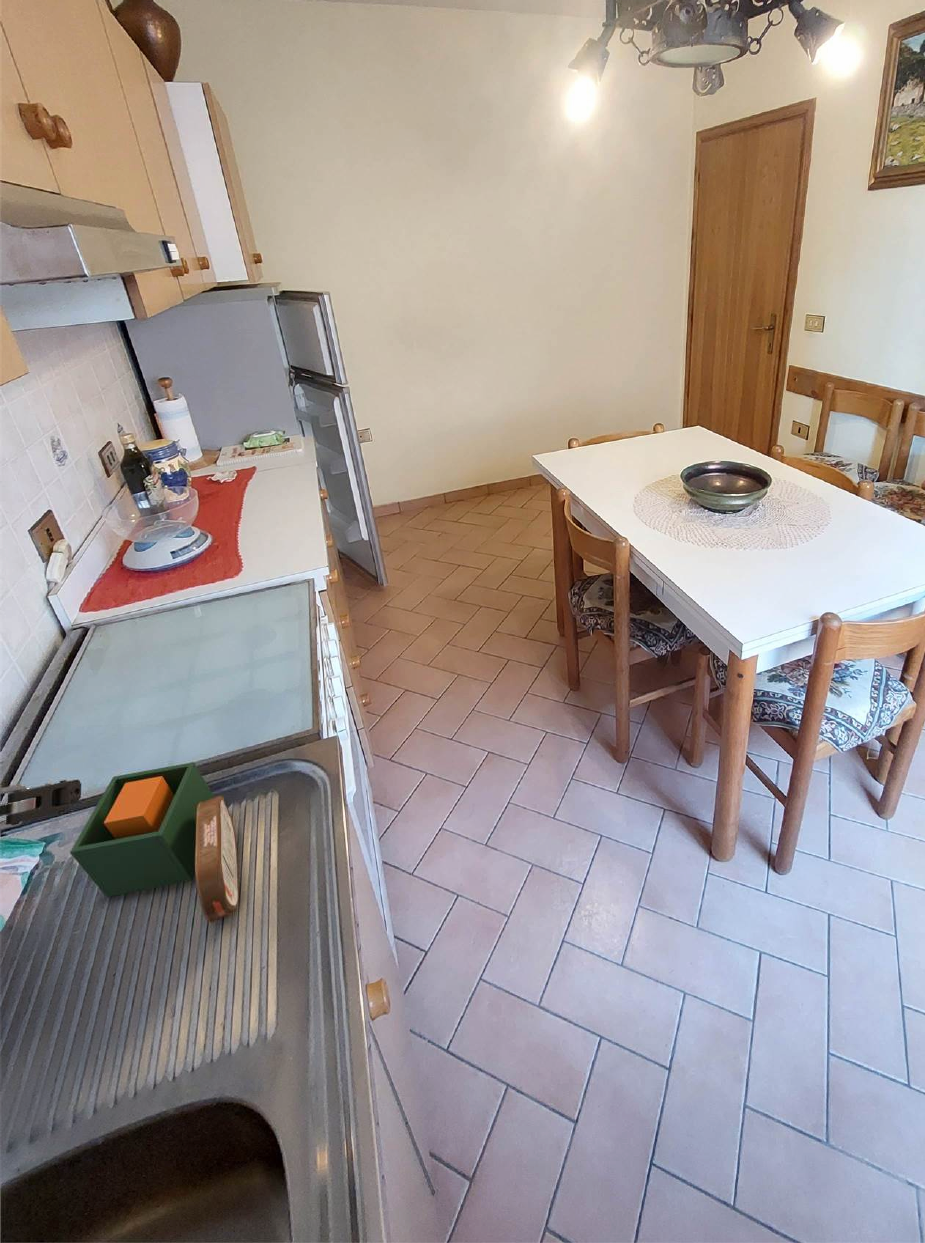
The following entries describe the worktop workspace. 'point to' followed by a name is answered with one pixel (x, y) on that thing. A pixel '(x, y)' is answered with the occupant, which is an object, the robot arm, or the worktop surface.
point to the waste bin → (144, 837)
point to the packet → (139, 808)
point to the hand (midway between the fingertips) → (30, 799)
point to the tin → (216, 859)
